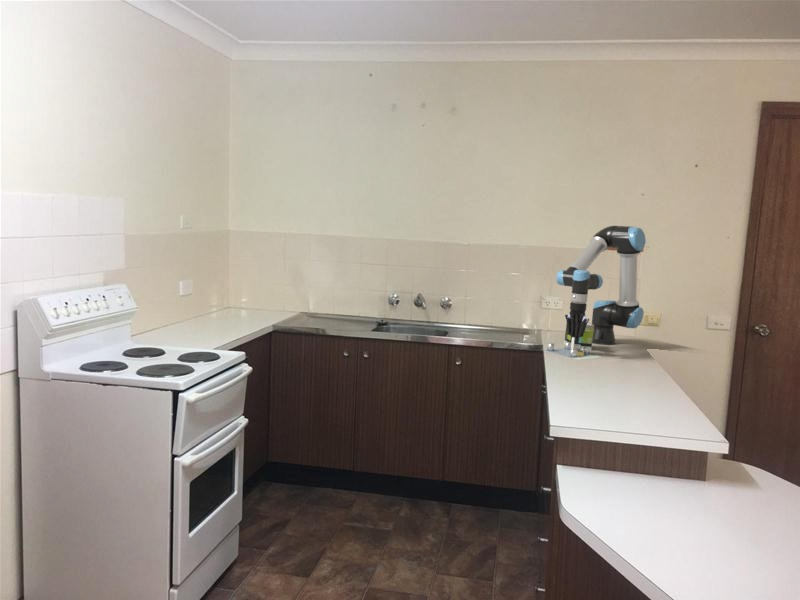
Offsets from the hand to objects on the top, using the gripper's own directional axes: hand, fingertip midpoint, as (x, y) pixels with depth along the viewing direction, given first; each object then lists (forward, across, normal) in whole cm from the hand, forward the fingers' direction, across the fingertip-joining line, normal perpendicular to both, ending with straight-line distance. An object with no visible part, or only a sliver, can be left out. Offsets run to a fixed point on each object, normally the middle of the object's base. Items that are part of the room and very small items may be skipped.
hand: (573, 350), depth 323 cm
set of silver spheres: (+2, -2, 0) cm, 3 cm away
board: (+3, 0, 0) cm, 3 cm away
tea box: (+3, -11, +16) cm, 20 cm away
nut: (+2, +3, 0) cm, 4 cm away
